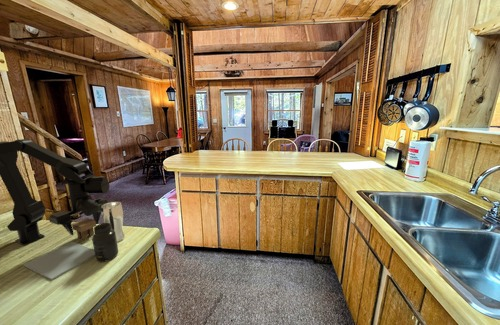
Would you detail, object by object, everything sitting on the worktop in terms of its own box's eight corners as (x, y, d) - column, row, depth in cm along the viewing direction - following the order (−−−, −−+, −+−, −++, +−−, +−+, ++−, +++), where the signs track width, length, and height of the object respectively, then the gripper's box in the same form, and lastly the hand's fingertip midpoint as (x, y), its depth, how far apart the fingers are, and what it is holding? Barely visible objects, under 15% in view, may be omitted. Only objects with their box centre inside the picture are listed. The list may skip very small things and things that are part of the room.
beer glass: (116, 245, 80) (111, 209, 77) (101, 242, 82) (95, 207, 78) (129, 235, 87) (125, 202, 84) (115, 233, 88) (111, 200, 85)
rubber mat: (23, 266, 69) (23, 264, 68) (72, 242, 81) (72, 241, 81) (52, 280, 63) (51, 278, 63) (99, 253, 76) (99, 251, 75)
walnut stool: (74, 238, 84) (71, 223, 83) (89, 231, 89) (86, 217, 88) (83, 241, 82) (80, 226, 81) (97, 234, 87) (95, 220, 86)
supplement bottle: (105, 249, 78) (100, 220, 75) (122, 250, 77) (118, 221, 75) (90, 262, 71) (85, 230, 68) (109, 263, 71) (105, 231, 68)
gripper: (63, 206, 70) (70, 246, 74) (115, 189, 87) (119, 222, 91) (44, 200, 74) (52, 239, 78) (98, 185, 91) (102, 217, 95)
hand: (84, 229), depth 85 cm, fingers open, 9 cm apart
